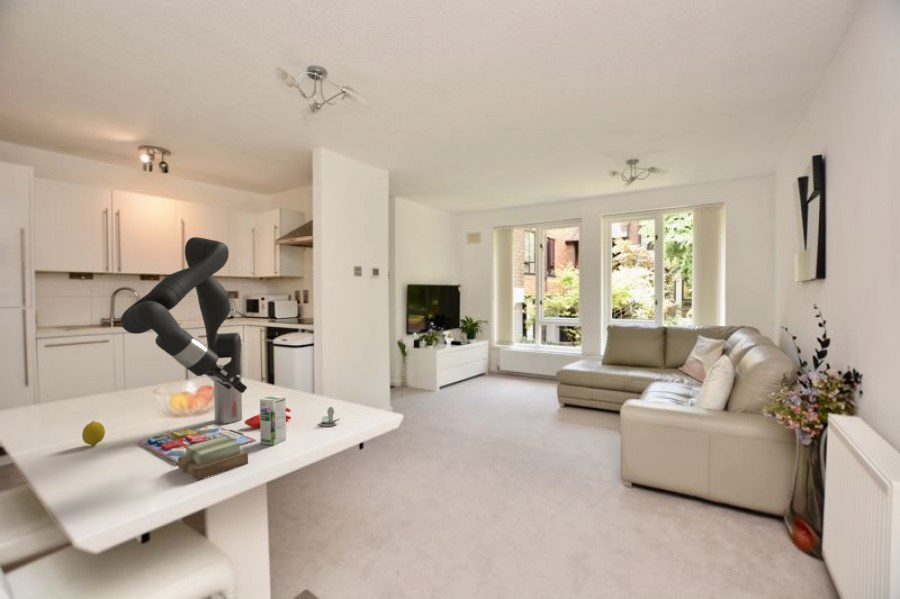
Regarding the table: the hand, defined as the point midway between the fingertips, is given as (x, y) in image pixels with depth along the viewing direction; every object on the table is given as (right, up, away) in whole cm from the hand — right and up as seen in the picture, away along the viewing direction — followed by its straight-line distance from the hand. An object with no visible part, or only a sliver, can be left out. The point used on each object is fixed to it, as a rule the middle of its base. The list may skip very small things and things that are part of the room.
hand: (237, 388), depth 125 cm
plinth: (-2, -20, -9) cm, 22 cm away
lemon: (-51, -20, +8) cm, 55 cm away
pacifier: (+20, -19, +26) cm, 38 cm away
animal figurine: (-2, -19, +26) cm, 33 cm away
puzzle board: (-18, -21, +10) cm, 29 cm away
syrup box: (+7, -19, +9) cm, 23 cm away
